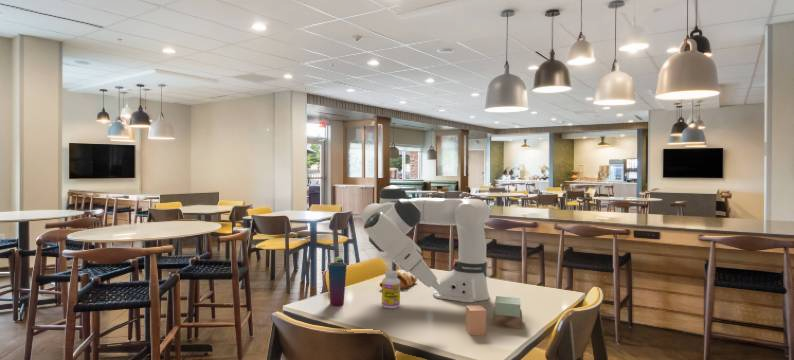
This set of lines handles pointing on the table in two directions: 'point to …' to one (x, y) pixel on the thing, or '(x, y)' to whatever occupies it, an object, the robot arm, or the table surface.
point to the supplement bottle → (391, 290)
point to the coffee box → (338, 259)
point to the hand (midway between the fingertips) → (437, 286)
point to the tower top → (507, 306)
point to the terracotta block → (475, 320)
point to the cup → (337, 282)
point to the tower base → (508, 321)
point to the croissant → (405, 280)
